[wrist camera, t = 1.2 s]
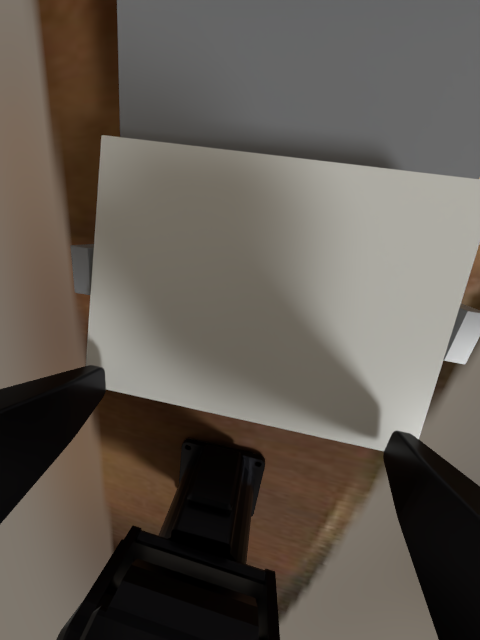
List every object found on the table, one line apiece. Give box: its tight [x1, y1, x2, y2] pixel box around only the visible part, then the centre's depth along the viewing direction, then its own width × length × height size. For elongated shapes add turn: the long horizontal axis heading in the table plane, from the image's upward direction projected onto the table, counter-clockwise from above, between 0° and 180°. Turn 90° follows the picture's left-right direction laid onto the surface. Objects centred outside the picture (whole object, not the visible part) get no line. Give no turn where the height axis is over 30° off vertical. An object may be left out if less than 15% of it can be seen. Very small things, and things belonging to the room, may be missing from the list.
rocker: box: [86, 135, 480, 451], centre depth 8 cm, size 8×11×2 cm
